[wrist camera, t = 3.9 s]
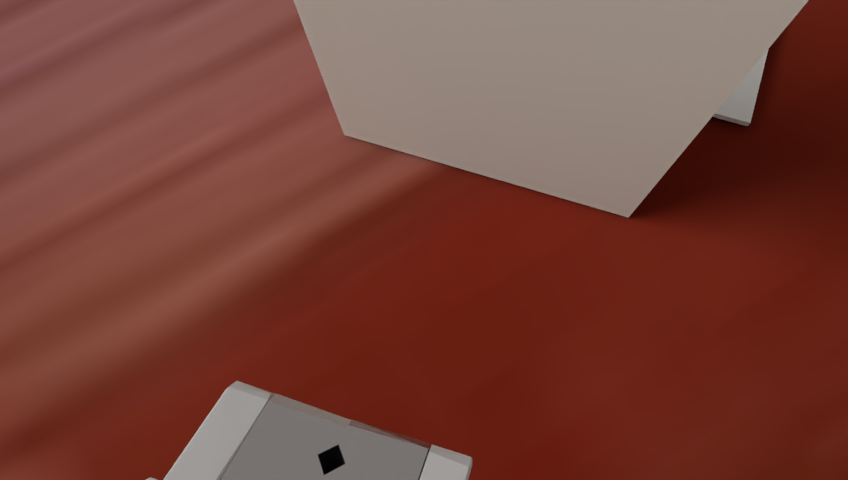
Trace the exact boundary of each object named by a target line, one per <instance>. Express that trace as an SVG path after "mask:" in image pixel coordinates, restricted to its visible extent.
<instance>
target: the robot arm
mask: <svg viewBox="0 0 848 480" xmlns="http://www.w3.org/2000/svg"><path fill="white" fill-rule="evenodd" d="M430 446H431V444H430V443H427V442H423V441H420V440H417V439H414V438H411V437H407V436H404V435H401V434H398V433H394V432H391V431H388V430H385V429H382V428H378V427H375V426H372V425H369V424H366V423H362V422H359V421H356V420H349V419H346V418H344V417H341V416H338V415H335V414H332V413H329V412H327V411H324V410H321V409H318V408H315V407H312V406H310V405H307V404H304V403H301V402H298V401H295V400H293V399H290V398H287V397H284V396H281V395H278V394H274V393H271V392H268V391H265V390H262V389H259V388H257V387H254V386H251V385H248V384H245V383H242V382H239V381H236V382H235V383H233V384H232V385H231V386H229V387H228V388H227V389H226V390H225V391H224V393H223V394H222V396H221V397H220V399H219V400H218V401H217V403H216V404H215V406H214V407H213V409H212V410H211V412H210V413H209V414H208V416H207V417H206V419H205V420H204V422H203V423H202V425H201V426H200V427H199V429H198V430H197V432H196V433H195V435H194V436H193V438H192V439H191V440H190V442H189V443H188V445H187V446H186V448H185V449H184V451H183V452H182V453H181V455H180V456H179V458H178V459H177V461H176V462H175V464H174V465H173V466H172V468H171V469H170V471H169V472H168V474H167V475H166V477H165V478H164V479H163V480H468V478H469V475H470V471H471V467H472V457H469V456H466V455H463V454H460V453H457V452H454V451H451V450H447V449H444V448H441V447H438V446H435V445H432V446H431V448H430ZM146 480H158V479H154V478H151V477H150V478H148V479H146Z"/></svg>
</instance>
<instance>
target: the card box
mask: <svg viewBox="0 0 848 480" xmlns="http://www.w3.org/2000/svg"><path fill="white" fill-rule="evenodd" d="M807 2H808V0H294V3H295V6H296V8H297V11H298V14H299V16H300V19H301V22H302V24H303V27H304V30H305V32H306V35H307V38H308V40H309V43H310V46H311V48H312V51H313V54H314V56H315V59H316V62H317V64H318V67H319V70H320V72H321V75H322V78H323V80H324V83H325V86H326V88H327V91H328V94H329V96H330V99H331V101H332V104H333V107H334V109H335V112H336V115H337V117H338V120H339V123H340V125H341V128H342V131H343V133H344V135H346V136H349V137H353V138H356V139H360V140H363V141H367V142H370V143H374V144H377V145H380V146H384V147H387V148H391V149H394V150H398V151H401V152H405V153H408V154H411V155H415V156H418V157H422V158H425V159H429V160H432V161H435V162H439V163H442V164H446V165H449V166H453V167H456V168H460V169H463V170H466V171H470V172H473V173H477V174H480V175H484V176H487V177H490V178H494V179H497V180H501V181H504V182H508V183H511V184H515V185H518V186H521V187H525V188H528V189H532V190H535V191H539V192H542V193H545V194H549V195H552V196H556V197H559V198H563V199H566V200H570V201H573V202H576V203H580V204H583V205H587V206H590V207H594V208H597V209H600V210H604V211H607V212H611V213H614V214H618V215H621V216H625V217H628V218H629V217H630V215H631V214H632V213H633V212H634V210H635V209H636V208H637V207H638V206H639V204H640V203H641V202H642V201H643V200H644V198H645V197H646V196H647V195H648V194H649V192H650V191H651V190H652V189H653V188H654V186H655V185H656V184H657V183H658V181H659V180H660V179H661V178H662V177H663V175H664V174H665V173H666V172H667V171H668V169H669V168H670V167H671V166H672V165H673V163H674V162H675V161H676V160H677V159H678V157H679V156H680V155H681V154H682V153H683V151H684V150H685V149H686V148H687V146H688V145H689V144H690V143H691V142H692V140H693V139H694V138H695V137H696V136H697V134H698V133H699V132H700V131H701V130H702V128H703V127H704V126H705V125H706V124H707V122H708V121H709V120H710V119H711V118H712V116H713V115H714V114H715V113H716V111H717V110H718V109H719V108H720V107H721V105H722V104H723V103H724V102H725V101H726V99H727V98H728V97H729V96H730V95H731V93H732V92H733V91H734V90H735V89H736V87H737V86H738V85H739V84H740V83H741V81H742V80H743V79H744V78H745V76H746V75H747V74H748V73H749V72H750V70H751V69H752V68H753V67H754V66H755V64H756V63H757V62H758V61H759V60H760V58H761V57H762V56H763V55H764V54H765V52H766V51H767V50H768V49H769V48H770V46H771V45H772V44H773V43H774V41H775V40H776V39H777V38H778V37H779V35H780V34H781V33H782V32H783V31H784V29H785V28H786V27H787V26H788V25H789V23H790V22H791V21H792V20H793V19H794V17H795V16H796V15H797V14H798V13H799V11H800V10H801V9H802V8H803V6H804V5H805V4H806V3H807Z"/></svg>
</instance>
